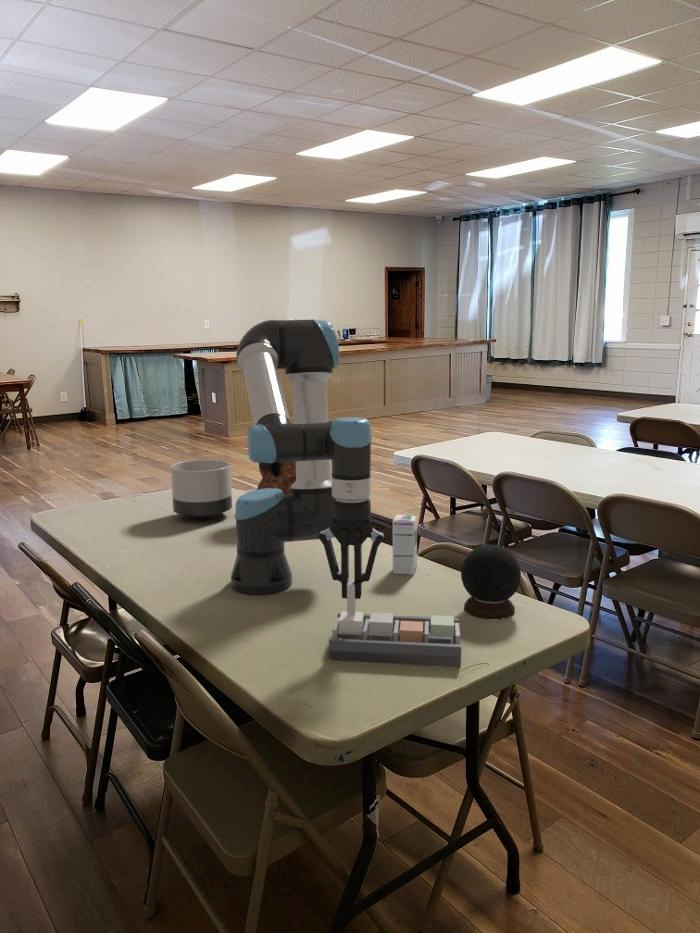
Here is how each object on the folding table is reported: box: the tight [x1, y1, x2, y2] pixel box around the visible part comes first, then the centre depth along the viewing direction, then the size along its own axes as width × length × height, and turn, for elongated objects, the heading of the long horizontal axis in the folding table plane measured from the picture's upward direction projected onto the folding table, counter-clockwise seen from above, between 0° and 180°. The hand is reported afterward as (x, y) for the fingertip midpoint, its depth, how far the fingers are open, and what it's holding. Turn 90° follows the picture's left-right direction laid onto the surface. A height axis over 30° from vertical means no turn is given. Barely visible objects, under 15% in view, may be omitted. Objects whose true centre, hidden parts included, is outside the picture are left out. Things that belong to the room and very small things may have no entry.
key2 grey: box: [369, 612, 394, 634], centre depth 139 cm, size 4×4×2 cm
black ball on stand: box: [460, 544, 522, 620], centre depth 157 cm, size 13×13×15 cm
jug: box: [256, 461, 296, 495], centre depth 230 cm, size 22×21×25 cm
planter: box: [170, 459, 233, 521], centre depth 233 cm, size 19×19×18 cm
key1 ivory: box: [339, 610, 365, 633], centre depth 140 cm, size 4×4×2 cm
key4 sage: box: [430, 614, 454, 637], centre depth 138 cm, size 4×4×2 cm
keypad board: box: [328, 612, 462, 667], centre depth 139 cm, size 25×13×4 cm, turn 83°
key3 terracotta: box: [400, 621, 423, 643], centre depth 139 cm, size 4×4×2 cm
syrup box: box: [392, 514, 418, 576], centre depth 181 cm, size 6×6×14 cm
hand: (351, 613), depth 140 cm, fingers closed
